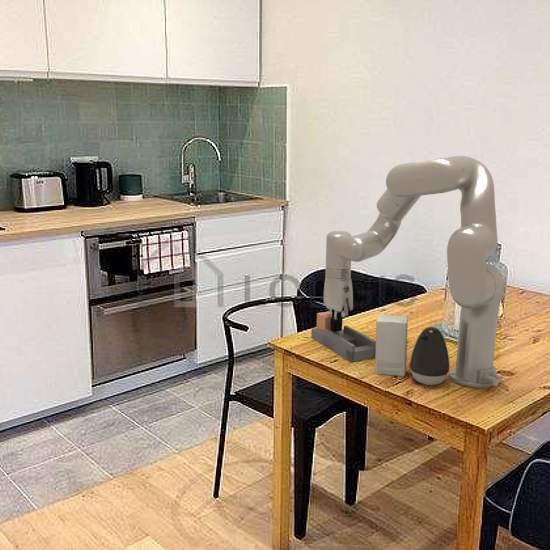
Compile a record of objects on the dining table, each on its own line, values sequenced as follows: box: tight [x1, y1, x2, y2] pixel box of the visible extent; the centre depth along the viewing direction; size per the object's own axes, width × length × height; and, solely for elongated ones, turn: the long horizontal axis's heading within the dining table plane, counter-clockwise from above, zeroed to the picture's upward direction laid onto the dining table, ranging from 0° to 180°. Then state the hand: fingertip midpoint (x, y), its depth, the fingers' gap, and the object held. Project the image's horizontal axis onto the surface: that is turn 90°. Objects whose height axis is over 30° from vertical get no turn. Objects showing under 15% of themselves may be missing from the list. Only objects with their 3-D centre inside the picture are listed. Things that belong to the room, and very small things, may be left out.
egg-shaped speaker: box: [409, 326, 450, 386], centre depth 170 cm, size 10×10×15 cm
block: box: [316, 310, 333, 332], centre depth 201 cm, size 5×5×5 cm
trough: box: [310, 324, 376, 363], centre depth 195 cm, size 23×8×5 cm, turn 27°
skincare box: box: [374, 313, 409, 377], centre depth 176 cm, size 8×7×16 cm
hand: (336, 330), depth 197 cm, fingers closed
